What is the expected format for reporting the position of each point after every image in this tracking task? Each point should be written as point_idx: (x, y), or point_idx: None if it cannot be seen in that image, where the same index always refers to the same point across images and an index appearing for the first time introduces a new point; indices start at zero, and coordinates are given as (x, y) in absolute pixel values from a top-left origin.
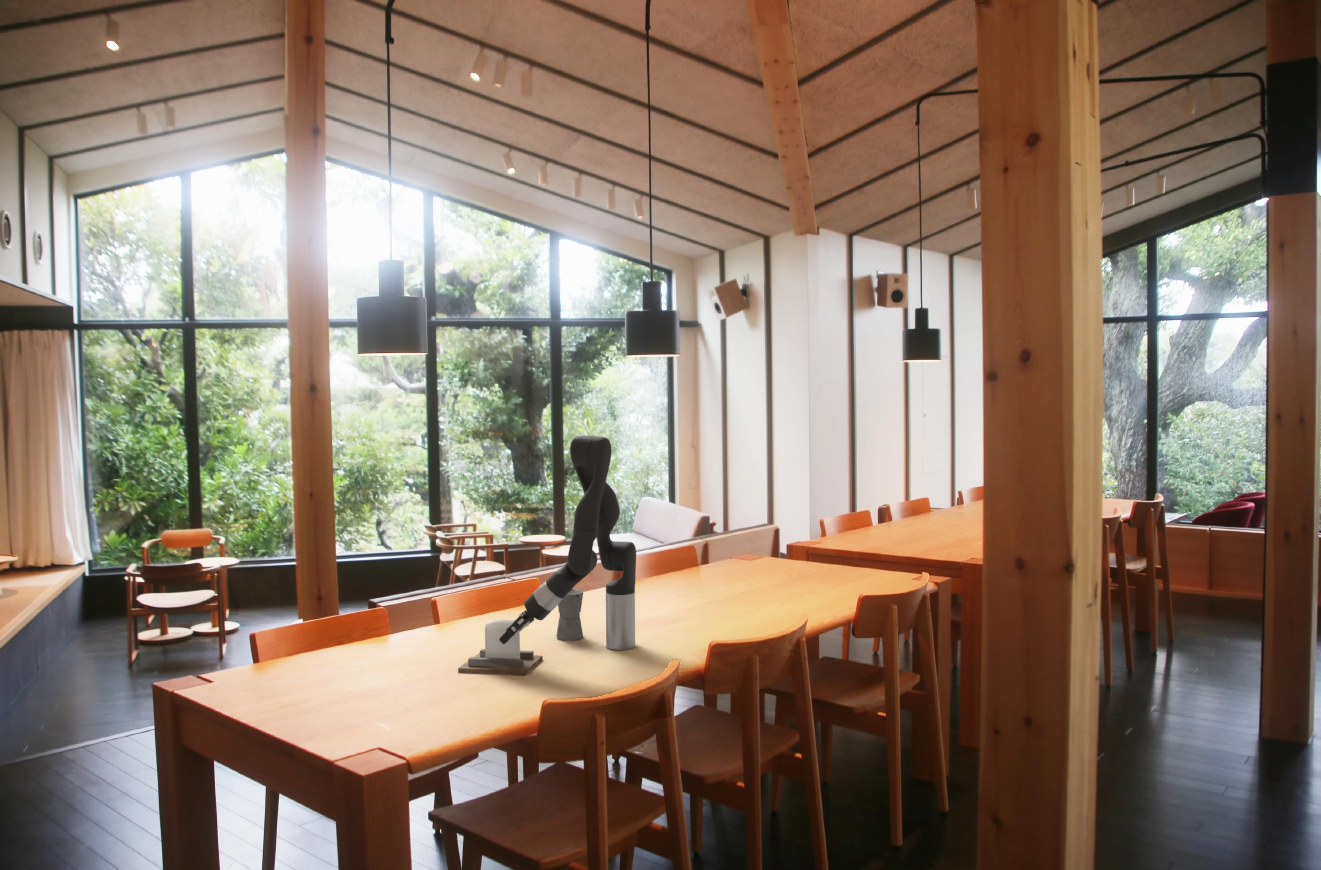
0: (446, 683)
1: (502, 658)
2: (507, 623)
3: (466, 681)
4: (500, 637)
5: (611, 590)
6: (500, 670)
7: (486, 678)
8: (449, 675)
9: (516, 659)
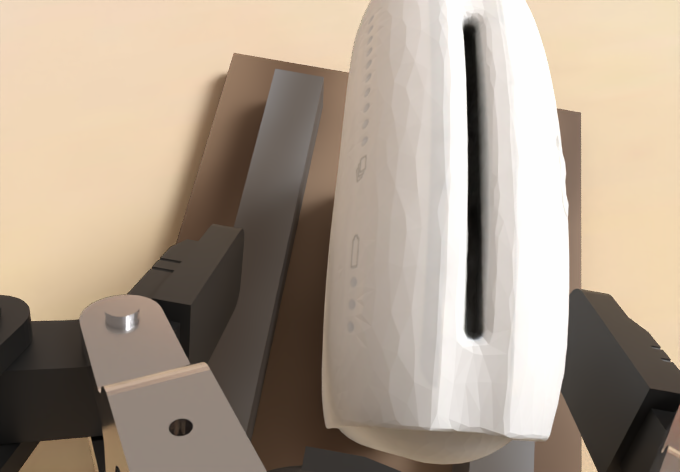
0: (14, 51)
1: (267, 309)
2: (371, 249)
3: (29, 145)
4: (208, 232)
5: None
6: None
7: (70, 253)
8: (175, 39)
9: None
